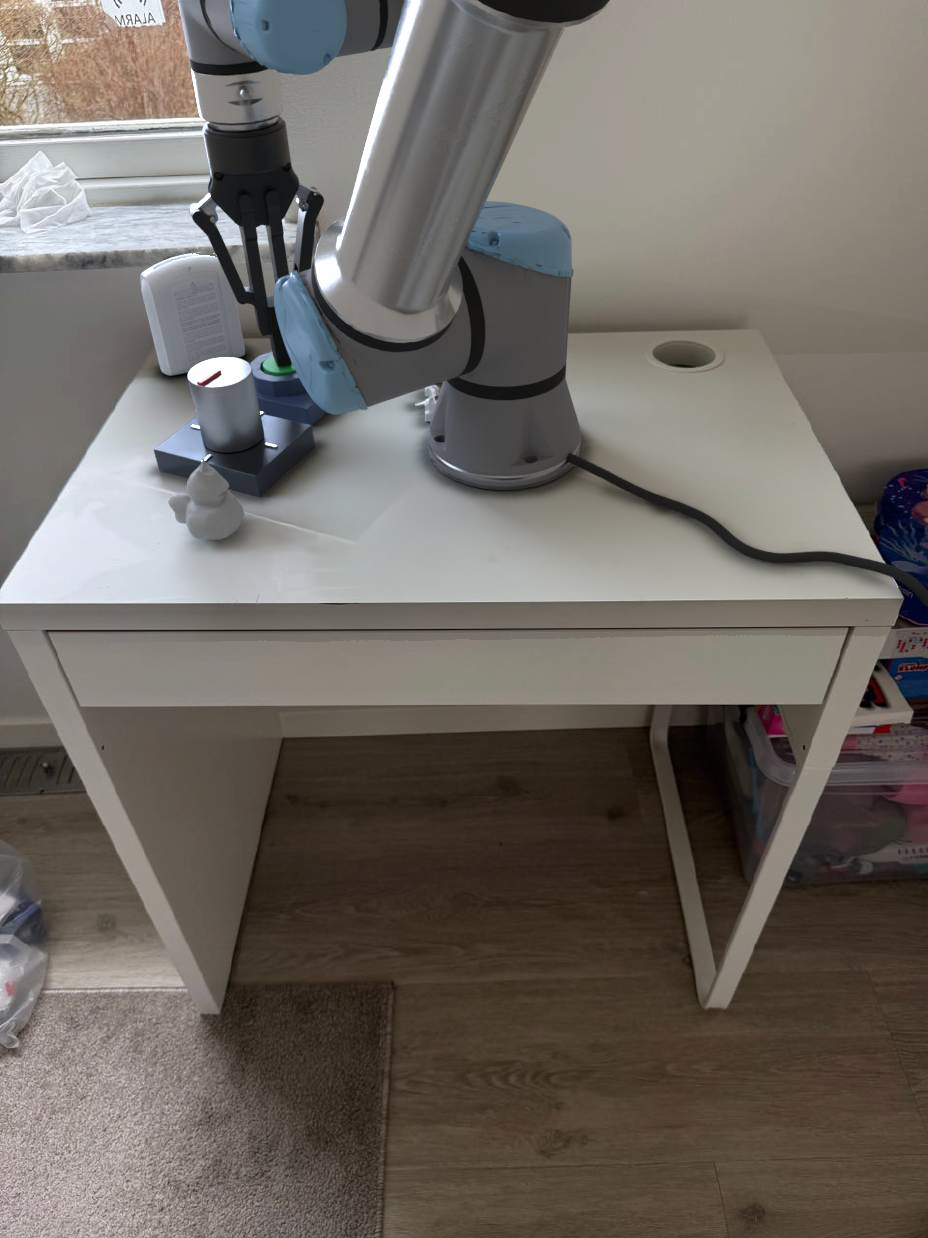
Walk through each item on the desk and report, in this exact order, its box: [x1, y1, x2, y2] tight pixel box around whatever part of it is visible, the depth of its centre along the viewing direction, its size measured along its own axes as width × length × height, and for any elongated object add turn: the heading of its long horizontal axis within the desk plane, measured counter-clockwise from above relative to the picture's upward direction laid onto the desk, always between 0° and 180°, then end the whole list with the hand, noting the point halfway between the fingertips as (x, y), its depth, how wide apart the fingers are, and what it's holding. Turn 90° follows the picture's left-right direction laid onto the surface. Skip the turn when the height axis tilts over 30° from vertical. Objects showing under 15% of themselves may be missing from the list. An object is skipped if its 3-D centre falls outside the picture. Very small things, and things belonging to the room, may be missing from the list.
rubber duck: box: [167, 458, 245, 541], centre depth 83 cm, size 5×7×8 cm
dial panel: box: [153, 411, 315, 498], centre depth 94 cm, size 12×10×3 cm
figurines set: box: [414, 384, 440, 423], centre depth 103 cm, size 12×3×3 cm, turn 2°
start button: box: [263, 356, 296, 376], centre depth 102 cm, size 4×4×2 cm
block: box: [249, 351, 327, 426], centre depth 103 cm, size 11×9×4 cm
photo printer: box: [139, 252, 246, 377], centre depth 107 cm, size 10×4×12 cm, turn 123°
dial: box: [186, 357, 264, 453], centre depth 91 cm, size 6×6×7 cm
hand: (282, 359), depth 101 cm, fingers closed
